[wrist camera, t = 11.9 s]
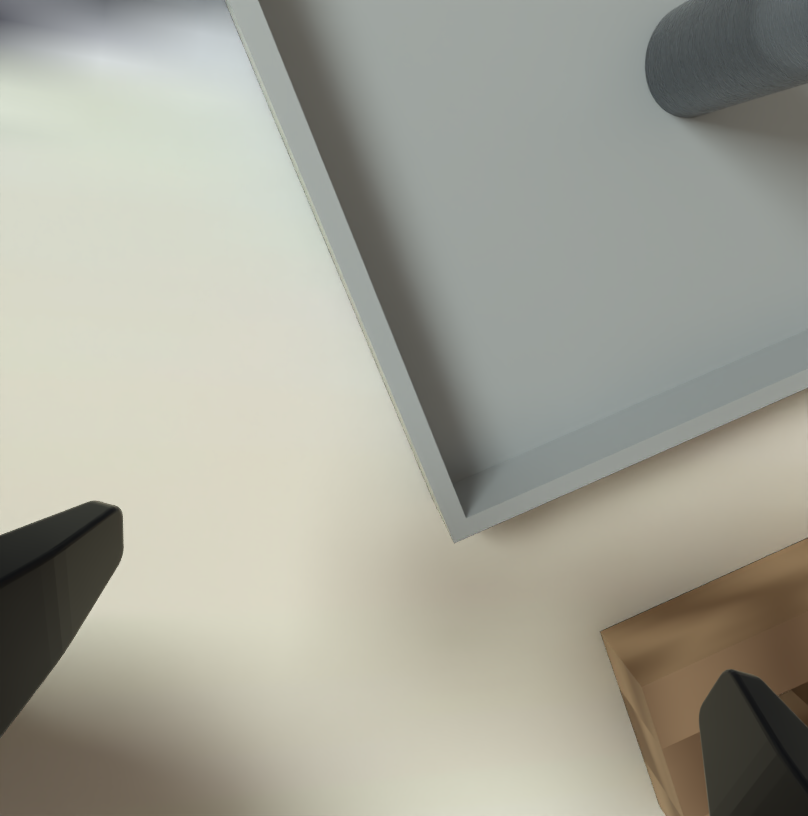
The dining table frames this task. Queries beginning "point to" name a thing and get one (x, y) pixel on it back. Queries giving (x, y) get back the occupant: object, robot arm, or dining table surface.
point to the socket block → (709, 663)
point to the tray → (540, 233)
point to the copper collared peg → (726, 53)
